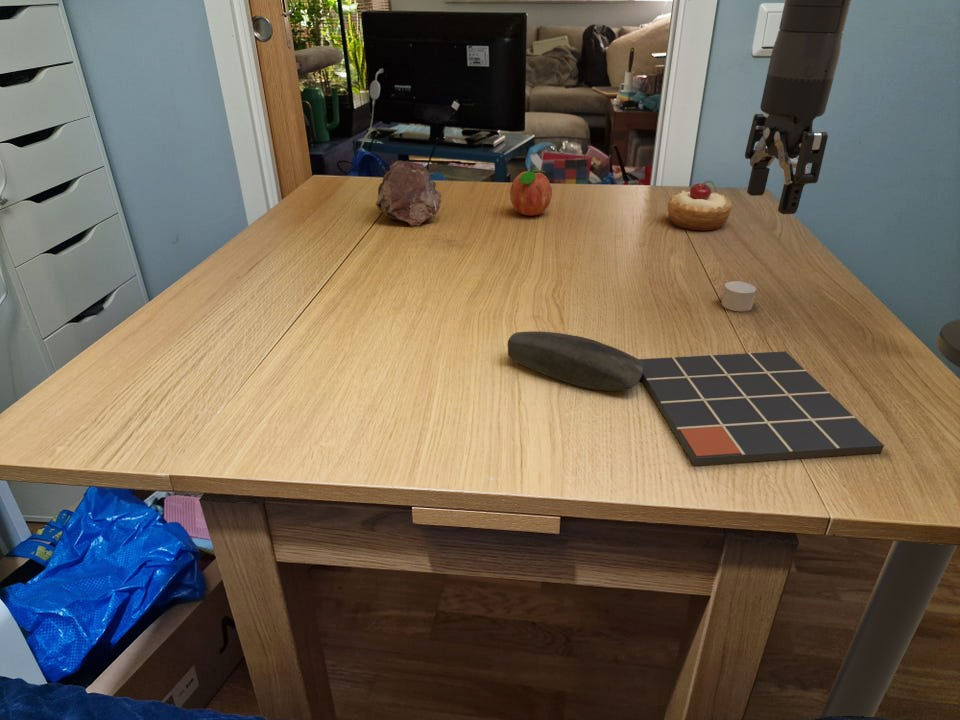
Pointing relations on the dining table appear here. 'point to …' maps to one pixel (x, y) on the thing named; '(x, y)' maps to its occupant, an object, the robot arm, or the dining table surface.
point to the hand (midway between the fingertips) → (770, 203)
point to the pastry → (699, 208)
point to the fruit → (531, 192)
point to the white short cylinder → (738, 296)
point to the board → (751, 409)
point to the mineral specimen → (408, 193)
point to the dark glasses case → (576, 360)
